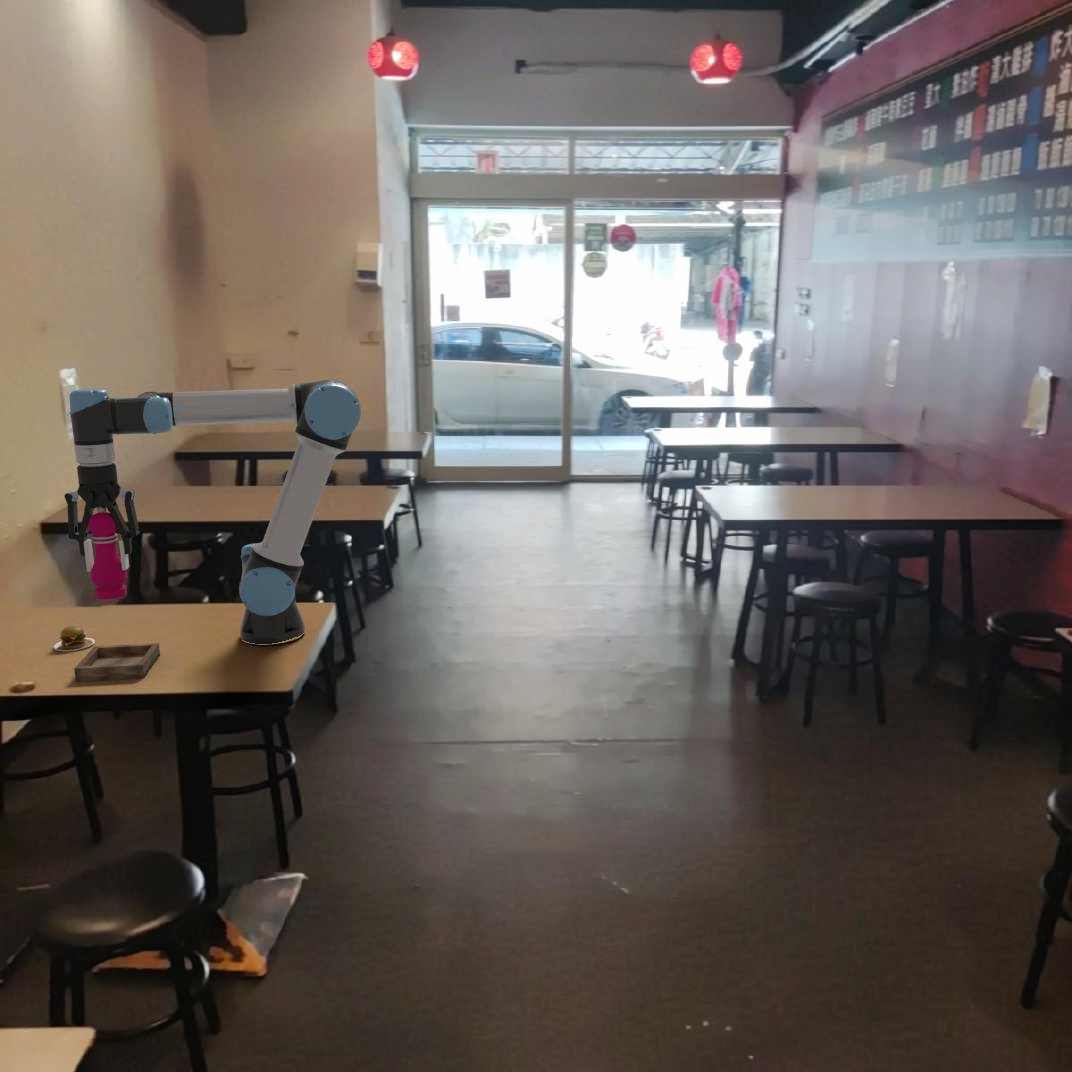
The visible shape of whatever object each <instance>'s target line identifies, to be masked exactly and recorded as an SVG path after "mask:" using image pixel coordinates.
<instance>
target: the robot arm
mask: <svg viewBox="0 0 1072 1072" xmlns="http://www.w3.org/2000/svg"><path fill="white" fill-rule="evenodd" d="M69 409H70V410H69V411H70V412H69V415H70V420H71V421H70V422H71V426H72V437H73V443H74V444H73V445H74V453H75V460H76V461H75V462H76V464H78V465H77V466H76V471H77V472H76V473H77V478H78V479H77V480H78V488H77V490H76V491H75V490H74V491H68V492H67V493H64V496H63V497H64V499H65V501H66V504H67V529H68V531H67V532H68V533H67V535H68V539H70V540H76V541H78V546H79V554H80V556H81V557H85V566H86V573H87V572H88V573H89V572H90V573H91V570H92V567H93V564H94V561H95V559H94V551H93V542H92V541H93V540H92V538H90V539H89V532H90V531H89V529H88V521H89V519H90V517H91V516H92V515H94V511H95V509H97V507H103V508H105V507H106V510H107V511H108V512H109V513H110V514H111V516H112V518H113V520H114V522H115V524H116V526H117V528H118V529H117V531H118V532H119V534H120V536H121V539H118V544H119V554H120V559H121V564H122V570H126V571H127V570H128V569H129V568H130V563H129V555H130V554H132V552H133V547H132V538H134V537H136V536H138V535H139V534H140V527H139V522H138V521H139V520H138V517H137V512H136V508H135V503H134V498H135V493H136V492H135V490H134V489H129V490H128V489H124V488H121V486H120V483H119V482H118V481H119V479H118V471H117V465H116V464H115V463H114V462H115V461H116V453H115V447H114V446H115V445H114V435H132V434H135V435H136V434H137V435H139V434H141V435H142V434H144V435H145V434H152V435H157V434H163V433H169V432H170V431H172V428H173V427H177V426H201V425H202V426H204V425H230V424H231V425H232V424H234V425H235V424H257V423H259V424H260V423H261V424H262V423H283V422H284V423H287V422H289V423H292V424H293V425H295V426H296V428H295V430H294V434H295V436H296V438H297V440H298V443H297V446H296V449H295V452H294V454H293V457H292V460H291V462H290V465H289V468H288V471H287V473H286V476H285V479H284V482H283V483H282V487H281V490H280V493H279V495H278V498H277V501H276V503H275V506H274V508H273V512H272V515H271V517H270V520H269V523H268V526H267V528H266V531H265V534H264V537H263V540H262V541H261V542H258V543H257V542H256V543H255V542H254V543H249V544H246V545H244V546H242V548H241V554H240V558H241V562H242V565H241V566H242V573H241V578H240V582H239V585H238V593H239V596H240V599H241V602H242V604H243V605H244V607H245V609H244V613H243V617H242V619H241V620H242V621H241V625H240V629H239V633H240V640H241V639H242V640H244V641H246V642H249V643H255V644H272V643H278V642H282V641H286V640H289V639H292V638H294V637H298V636H300V635H302V634H303V633H304V631H305V632H306V626H305V622H304V619H303V617H302V615H301V612H300V610H299V607H298V605H297V603H296V600H297V599H296V586H297V583H298V581H299V578H300V574H301V572H302V569H303V567H304V563H305V562H304V559H303V558H302V556H301V552H302V549H303V546H304V544H305V541H306V538H307V537H308V533H309V531H310V527H311V526H312V523H313V519H314V517H315V514H316V511H317V509H318V506H319V503H320V500H321V497H322V495H323V493H324V490H325V487H326V484H327V482H328V480H329V476H330V474H331V471H332V467H333V465H334V463H335V460H336V457H337V456H338V455H340V454H342V453H344V452H346V451H347V448H348V444H349V443H350V439H351V438H352V437H351V436H352V434H353V432H354V431H355V430H356V427H358V425H359V422H360V420H361V417H362V415H361V414H362V413H361V412H362V410H361V403H360V400H359V398H358V396H357V395H356V394H355V392H354V391H353V389H351V388H350V387H349V386H347V385H346V384H345V383H344V382H341V381H339V380H335V379H324V380H318V381H312V382H304V383H303V382H302V383H292V384H291V385H290V387H288V388H264V389H263V388H262V389H261V388H260V389H233V390H231V389H229V390H228V389H227V390H204V391H201V390H200V391H177V392H176V391H173V392H157V391H145V392H143V393H140V394H139V395H137V397H127V398H126V397H125V398H114V397H113V398H112V397H111V396H110V395H109V392H108V390H107V389H105V388H84V389H75V390H73V391H71V392H70V393H69ZM119 495H120V496H121V499H122V500H124V507H125V512H126V513H125V514H126V517H127V522H128V525H127V522H126V521H125V518H124V517H123V514H122V512H121V511H120V509H119V505H118V502H117V501H116V500H117V499H118V497H119ZM79 498H81V499H82V500H83V501H84V502H85V505H84V509H83V510H84V512H83V515H82V520H81V523H80V528H79V525H78V523H79V519H78V518H79V517H78V516H79V514H78V501H79ZM242 640H241V641H242Z"/></svg>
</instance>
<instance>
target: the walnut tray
mask: <svg viewBox="0 0 1072 1072" xmlns="http://www.w3.org/2000/svg"><path fill="white" fill-rule="evenodd" d="M159 656H160V657H161V651H160V642H157V643H156V642H155V643H154V642H153V643H136V644H135V643H134V644H118V645H116V644H115V645H97V646H96V645H95V646H93V647H92V649H91V650H89V652H88V653H87V654H86V655H85V656H84V657H83V658H82V659H81V660H80V662H79V663H78V664H77V665H76V666H75V667H74V668H73V670H74V676H75V677H74V678H75V682H76V683H81V682H96V681H97V682H99V681H114V680H115V681H116V680H132V679H133V680H135V679H145V678H146V677H147V675H148V674H149V672H150V671H151V669H152V668H153V667H154V665H155V664H156V662H157V661H158V660H159V658H160V657H159ZM158 657H159V658H158ZM154 663H155V664H154ZM152 666H153V667H152ZM149 670H150V671H149Z"/></svg>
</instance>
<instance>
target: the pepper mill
mask: <svg viewBox="0 0 1072 1072" xmlns="http://www.w3.org/2000/svg"><path fill="white" fill-rule="evenodd" d="M88 529H89V532H91V534H92V536H91V539H92V540H91V541H92V544H94V547H95V556H94V557H95V559H94V564H93V567H92V570H91V572H90V580H91V583H92V584H94V585H95V586H96V588H95V589H94V593H95V599H97V600H113V599H114V600H115V599H119V598H123V597H124V596H126V595H127V594H128V592H127V585H126V584H124V583H125V582H126V580H127V578H128V572H127V570H122V564H121V556H119V553H118V550H117V541H119V538H118V534H117V531H118V528H117V526H116V524H115V522H114V520H113V518H112V516H111V514H110V512H109V511H108V512H107V507H105V508H103V507H97V508H96V513H93V515H92V516H91V517H90V519H89V521H88Z"/></svg>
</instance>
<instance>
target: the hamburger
mask: <svg viewBox="0 0 1072 1072" xmlns="http://www.w3.org/2000/svg"><path fill="white" fill-rule="evenodd" d="M86 636H87V635H86V633H85V631H84V629H83V628H82V627H81V626H78V625H69V626H67V627H64V628H63V629H62V630H61V631H60V636H59V639H61V641H59V642H57V643H55V644H54V645H53V647H52V648H53V649H54V650H55V651H60V652H74V651H75V652H76V651H80V650H84V649H88V648H90V647H91V646H93V645H94V644H95V643H96V640H95V639H94V638H91V637H86ZM86 642H89V643H90V645H88V646H85V647H84V645H86ZM60 646H62V648H63V649H58V648H59V647H60Z"/></svg>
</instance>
